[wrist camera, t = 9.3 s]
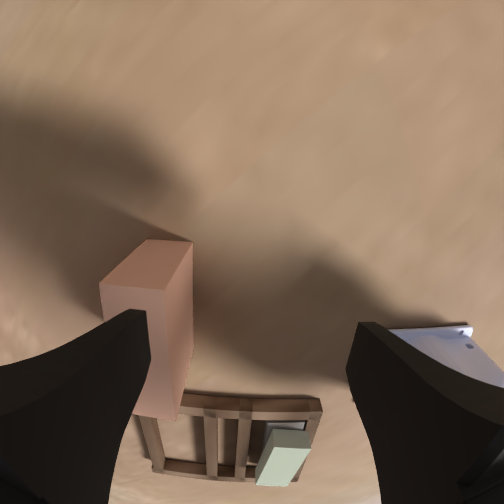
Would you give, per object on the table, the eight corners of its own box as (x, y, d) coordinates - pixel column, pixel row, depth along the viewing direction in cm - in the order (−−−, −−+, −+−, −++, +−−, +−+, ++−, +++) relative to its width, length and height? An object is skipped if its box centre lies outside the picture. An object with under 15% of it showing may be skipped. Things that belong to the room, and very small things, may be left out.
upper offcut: (308, 430, 22) (311, 448, 20) (285, 470, 24) (286, 486, 22) (273, 428, 22) (274, 447, 20) (255, 468, 24) (255, 484, 22)
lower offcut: (301, 405, 24) (305, 422, 22) (288, 460, 26) (290, 474, 25) (266, 405, 24) (267, 422, 22) (259, 460, 26) (259, 475, 24)
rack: (319, 398, 23) (322, 411, 21) (295, 470, 26) (297, 481, 25) (136, 386, 22) (131, 398, 21) (155, 461, 26) (153, 472, 25)
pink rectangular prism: (193, 241, 19) (164, 290, 12) (193, 349, 21) (176, 421, 14) (146, 239, 19) (98, 283, 12) (153, 345, 21) (124, 412, 14)
